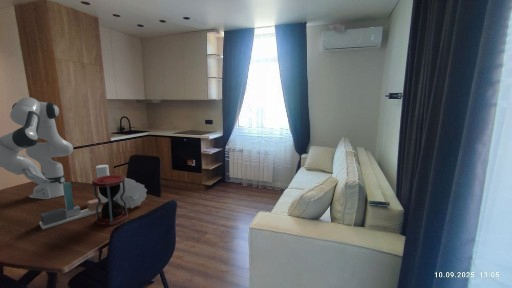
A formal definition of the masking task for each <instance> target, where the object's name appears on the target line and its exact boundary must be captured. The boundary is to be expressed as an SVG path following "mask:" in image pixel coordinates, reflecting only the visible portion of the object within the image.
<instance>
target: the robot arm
mask: <svg viewBox="0 0 512 288" xmlns="http://www.w3.org/2000/svg"><path fill="white" fill-rule="evenodd" d="M59 114H60V108H59V106H58V105H57V104H55V103H53V102H45V101H38V99H36V98H34V97H30V96H26V97H21V99H19V100H18V101H16V102H15V103H14V104H12V108H11V110H10V115H9V116H10V120H11V121H12V122H13V123H15V124H16V125H19V126H21V127H20V128H17V129H15V130H13V131H11V132H8V133H6V134H5V135H2V136H0V168H3V169H4V170H6V171H8V172H9V173H12V174H14V175H16V176H21V175H24V177H25V178H27V179H28V180H30V181H32V182H34V183H35V184H38V185H36V186H35V187H34V188H33V193H31V194H29V196H28V197H29V198H30V199H31V198H32V199H38V200H39V199H40V200H49V199H52V198H57V197H59V198H60V197H61V196H64V190H63V183H65V182H66V175H65V173H64V167H63V164H62V163H61V162H59V161H55V160H53V159H52V158H59V157H60V158H61V157H66V156H67V157H68V156H70V155H71V154H73V151H74V146H73V145H72V143H71V142H69V141H66V140H65V139H64V138H63V137H62V136H60V134H59V132H58V129H57V124H56V121H55V119H56V118H58V117H59ZM39 139H40V140H41V139H42V140H45V141H46V142H39ZM23 150H25V154H26V156H27V157H26V156H25V155H23V154H19V152H21V151H23ZM28 157H29V158H30V159H29V158H28ZM31 159H32V160H34V161H36V162H37V163H38V164H39V165H40V167H41V169H40V168H39V167H38V166H37V164H35V163H34V162H33V161H32V160H31Z"/></svg>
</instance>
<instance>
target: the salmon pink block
mask: <svg viewBox="0 0 512 288" xmlns="http://www.w3.org/2000/svg"><path fill="white" fill-rule="evenodd" d="M97 204H98V199H97V198H94V199H92V200H91V199H90V200H87V209H88V210H89V211H91V212H93V211H96V205H97ZM102 204H103V203H101V204H100V205H99V206H98V210H100V209H102V207H103V205H102Z"/></svg>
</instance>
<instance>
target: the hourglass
mask: <svg viewBox="0 0 512 288" xmlns="http://www.w3.org/2000/svg"><path fill="white" fill-rule="evenodd" d="M91 182H92V183H91V185H92V187H93V196H94V197H95V199H98V204H97V205H96V213H95V214H96V215H95V216H96V220H95V222H96V225H97V226H100V227H107V226H108V227H109V226H114V225H118V224H120V223H123V222H124V221H125V220H127V219H128V217H129V213H128V208H127V205H126V201H124V200H123V195H124V194H125V175H121V174H109V175H108V176H102V177H99V178H97V177H96V178H94V179H92V180H91ZM120 183H123V193H122V194H121V196H120V199H121V201H123V203H124V206H123V205H121V204H120V203H118V202H117V201H115V200H113V198H114V197H115V196H116V195H117V194H118V193H119V191H120ZM98 187H99V192H97V188H98ZM97 193H98V194H99V193H100V194H101V195H102V196H103V197H105V198H107V199H108V201H107V202H106V203H104V204H103V205H102V209H101V212H99V213H100V214H101V215H99V213H98V206H99V205H100V204H101V199H100V198H99V195H97ZM124 207H125V208H124ZM123 208H124V210H123Z"/></svg>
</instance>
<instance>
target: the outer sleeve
mask: <svg viewBox="0 0 512 288" xmlns="http://www.w3.org/2000/svg"><path fill="white" fill-rule="evenodd" d="M65 209H66V208H64V207H61V208H57V209H54V210H50V211H45V212H42V213H40V219H41V222H42V223H43V225H44V226H45V225H49V224H52V223H55V222H59V221H62V220H66V219H67V216H66V210H65Z"/></svg>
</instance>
